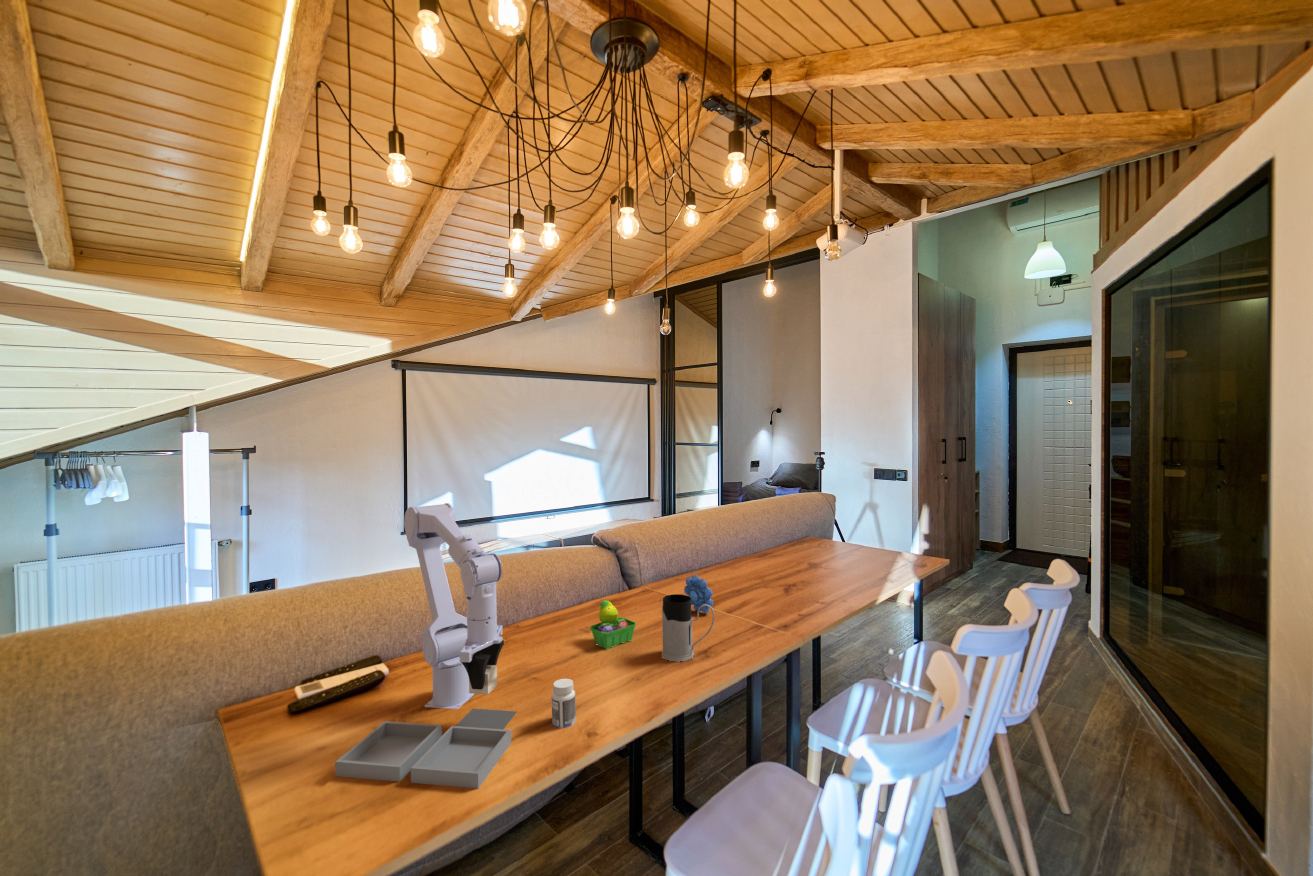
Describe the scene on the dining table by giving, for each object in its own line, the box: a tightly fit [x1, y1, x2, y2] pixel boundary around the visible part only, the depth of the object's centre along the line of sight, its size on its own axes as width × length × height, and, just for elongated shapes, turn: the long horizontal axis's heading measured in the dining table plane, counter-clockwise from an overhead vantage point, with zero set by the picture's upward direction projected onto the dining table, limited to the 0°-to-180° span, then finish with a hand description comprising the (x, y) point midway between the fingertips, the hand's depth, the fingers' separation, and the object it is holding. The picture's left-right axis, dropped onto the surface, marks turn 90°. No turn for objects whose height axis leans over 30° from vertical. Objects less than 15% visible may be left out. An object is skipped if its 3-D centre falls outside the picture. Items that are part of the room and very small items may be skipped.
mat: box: [455, 708, 518, 730], centre depth 107 cm, size 10×10×1 cm
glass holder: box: [660, 593, 715, 663], centre depth 140 cm, size 9×14×15 cm, turn 78°
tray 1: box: [334, 720, 443, 782], centre depth 96 cm, size 13×12×3 cm
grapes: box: [683, 574, 714, 614], centre depth 173 cm, size 12×7×12 cm, turn 48°
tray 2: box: [410, 725, 512, 790], centre depth 94 cm, size 13×12×3 cm
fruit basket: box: [589, 599, 637, 650], centre depth 150 cm, size 11×9×11 cm
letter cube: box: [469, 664, 498, 695], centre depth 107 cm, size 4×4×4 cm
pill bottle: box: [551, 678, 577, 729], centre depth 107 cm, size 5×5×8 cm
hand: (483, 683), depth 107 cm, fingers closed on letter cube, 4 cm apart
